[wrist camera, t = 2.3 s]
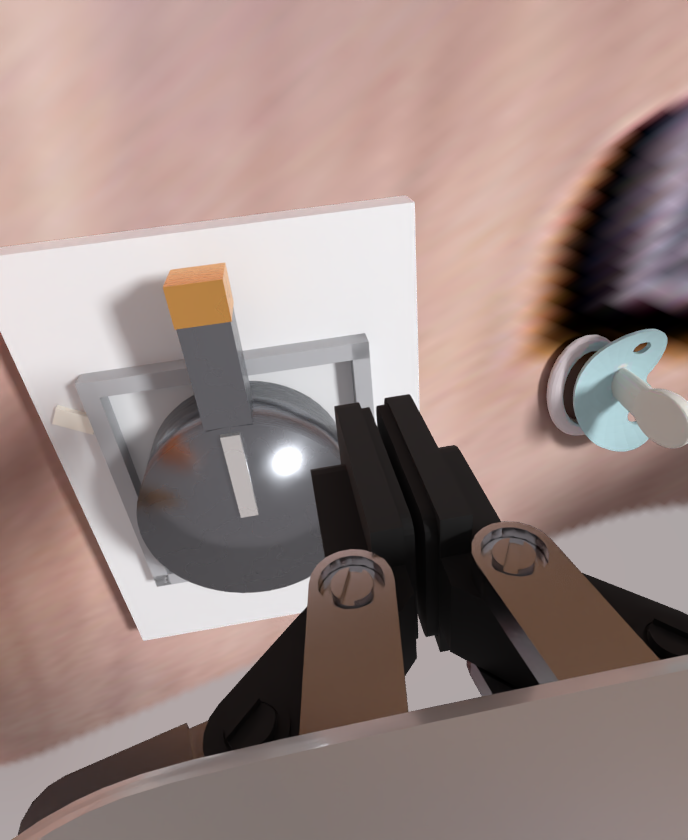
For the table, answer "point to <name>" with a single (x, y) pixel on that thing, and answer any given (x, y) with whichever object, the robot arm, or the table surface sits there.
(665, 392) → the pacifier
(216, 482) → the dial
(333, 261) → the panel
